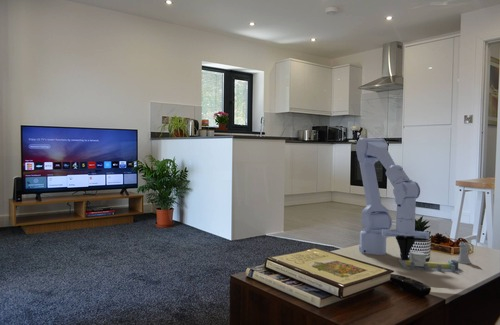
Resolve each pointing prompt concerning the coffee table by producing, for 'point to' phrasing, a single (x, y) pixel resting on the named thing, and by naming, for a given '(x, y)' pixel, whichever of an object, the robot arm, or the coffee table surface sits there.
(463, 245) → the rook chess piece
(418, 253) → the sleeve
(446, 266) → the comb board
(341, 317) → the coffee table surface
